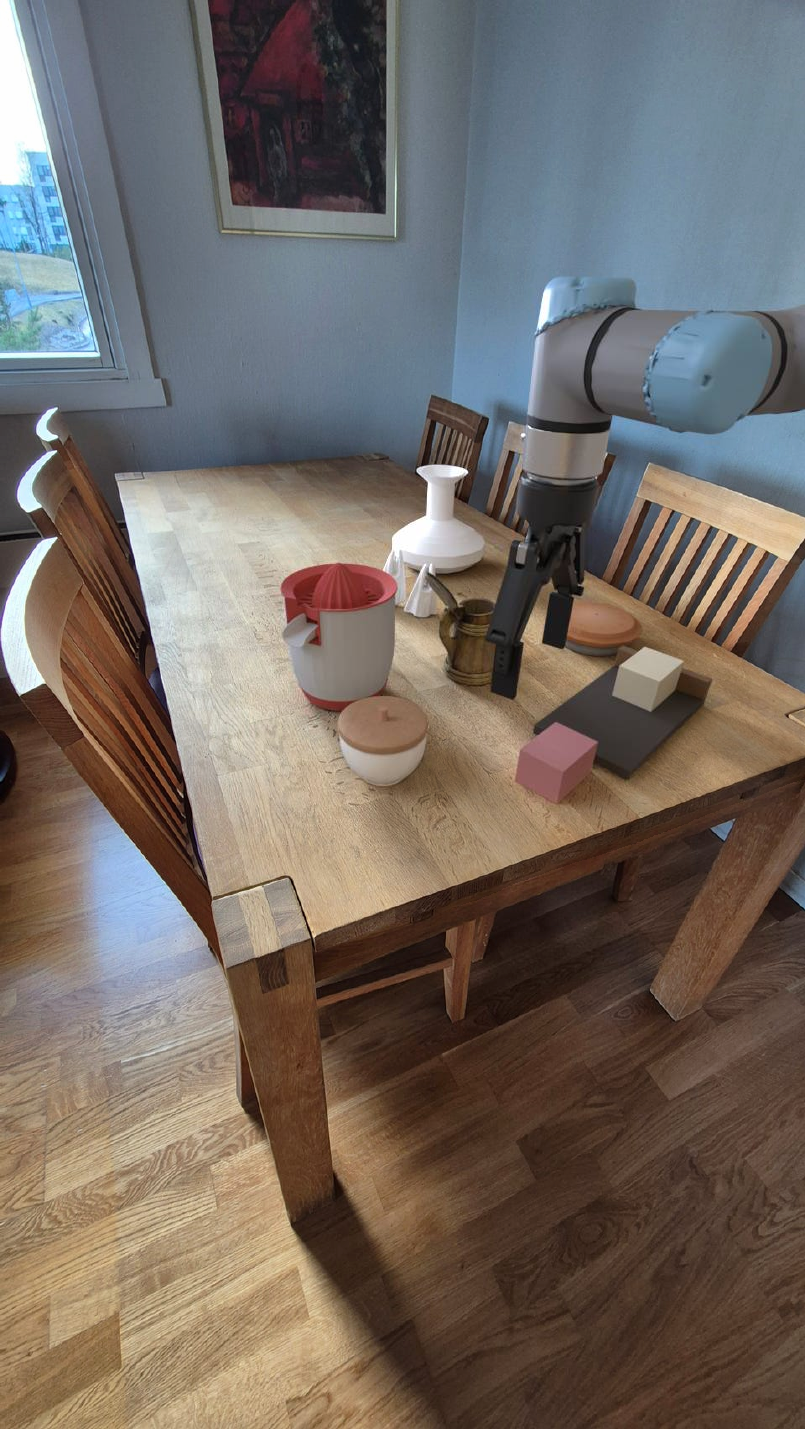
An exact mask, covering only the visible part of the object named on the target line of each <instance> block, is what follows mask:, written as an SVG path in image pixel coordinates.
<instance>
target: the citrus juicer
mask: <svg viewBox="0 0 805 1429" xmlns="http://www.w3.org/2000/svg"><path fill="white" fill-rule="evenodd" d="M279 589H280V594H281V595H282V597H283V598H282V599H283V608H284V620H285V627H284V628H283V630H282V634H281V637H282V640H283V642H284V643H285V644H287V649H288V653H289V654H288V655H289V658H290V659H289V660H290V663H291V666H292V669H293V673H294V676H295V677H296V680H297V684H298V686H299V688H300V689H301V691H302V693H303V694H304V696H305V698H306V700H308V701H309V702H310V703H311V704H312V705H314V706H316V707H319V708H321V709H324V710H329V711H338V712H342V711H343V710H344V709H345V708H346V707H347V706H349V705H350V704H352V703H354V702H356V701H358V700H361V699H364V698H368V697H374V696H382V694H383V692H384V690H385V688H386V686H387V684H388V681H389V675H390V673H391V669H392V665H393V661H394V656H395V646H396V645H395V643H396V641H395V640H396V605H395V594H396V592H397V589H398V588H397V583H396V581H395V579H394V578H393V577H392V576H391V575H390V574H388V573H386V572H384V571H383V569H382V570H381V569H379V568H377V567H373V566H369V565H363V564H358V563H342V562H335V563H325V564H317V565H313V566H308V567H305V568H302V569H300V570H297V571H295V572H293V573H291V574H290V575H288V576H287V577H285V578H284V579H283V581H282V582H281V584H280V588H279Z"/></svg>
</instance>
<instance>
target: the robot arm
mask: <svg viewBox="0 0 805 1429" xmlns="http://www.w3.org/2000/svg"><path fill="white" fill-rule="evenodd" d="M542 293H543V294H542V298H541V304H540V309H539V316H538V321H537V326H536V332H534V342H535V343H534V350H533V351H534V352H533V360H532V368H531V370H532V371H531V378H530V386H529V396H528V404H527V413H526V414H527V415H526V424H525V431H522V433H521V435H520V440H521V441H522V442H523V448H522V458H521V464H520V466H521V468H522V470H523V471H524V473H522V474H521V476H519V478H518V486H517V495H516V503H515V512H516V513H517V515H518V516H519V517H520V518H521V519H524V520H525V521H526V522H527V523H528V530H527V532H526V535H525V538H524V539H523V540H519V539H513V540H512V541H511V544H510V548H509V553H508V559H507V565H506V568H505V572H504V575H503V578H502V582H501V584H500V587H499V588H500V589H499V592H498V594H497V597H496V601H495V607H494V611H493V614H492V617H491V621H490V624H489V627H488V631H487V634H486V638H485V639H486V641H487V642H490V643H493V644H496V646H495V655H494V663H493V672H492V680H491V683H490V690H489V692H490V694H495V695H497V696H500V697H503V698H506V699H509V700H511V701H514V700H515V699H516V698H517V693H518V686H519V679H520V673H521V666H522V660H523V652H524V646H525V642H523V641H521V640H522V638H523V635H524V633H525V630H526V628H527V625H528V623H529V620H530V618H531V616H532V613H533V610H534V608H535V605H536V602H537V601H538V598H539V596H540V593H541V591H542V588H543V587H544V586H546V585H548V584H549V583H550V581H551V582H552V586H553V589H554V591H551V592H550V593H549V596H548V602H547V608H546V615H545V620H544V626H543V633H542V637H541V638H542V639H541V644H542V645H546V646H549V647H552V648H556V649H560V650H564V649H565V648H566V647H565V644H566V639H567V633H568V628H569V623H570V617H571V612H572V607H573V602H575V597H574V596H577V597H582V596H583V594H584V591H585V586H583V583H584V582H585V566H586V565H585V562H586V561H585V560H586V559H585V558H586V557H585V556H586V555H585V554H586V553H585V548H586V546H585V545H586V544H585V542H586V534H585V533H586V526H587V523H588V522H590V521H591V520H592V519H593V517H594V516H595V509H596V504H597V499H598V494H599V489H600V482H598V479H597V477H600V475H601V474H602V473H603V471H604V465H605V460H606V454H607V449H608V443H609V437H610V434H611V433H610V432H611V427H612V421H613V416H615V417H620V418H624V419H628V420H632V421H637V422H641V423H644V424H649V425H654V426H658V427H661V428H664V429H668V430H669V431H670V432H674V433H678V434H683V433H687V432H689V433H695V434H702V435H717V434H718V435H719V434H722V433H725V432H727V431H729V430H730V429H732V428H733V427H734V426H735V424H736V423H737V422H739V421H741V420H743V419H745V418H746V417H750V416H762V415H782V414H791V413H797V412H801V411H805V304H801V305H798V306H795V307H791V308H786V309H780V310H713V309H711V310H680V309H679V310H678V309H677V310H676V309H675V310H673V309H672V310H671V309H642V308H636V307H637V305H636V295H637V285H636V282H635V280H633V279H632V278H630V277H612V276H610V277H609V276H557V277H554V278H553V279H551V280H550V281H549V282H548V283H547V284H546V286H545V287H544V290H543V292H542ZM555 591H556V592H555Z"/></svg>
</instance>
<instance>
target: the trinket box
mask: <svg viewBox="0 0 805 1429" xmlns="http://www.w3.org/2000/svg"><path fill="white" fill-rule="evenodd" d="M340 712H341V713H340V714H339V715H338V718H337V731H338V733H339V735H338V736H339V737H338V738H339V744H340V749H341V753H342V756H343V759H344V762H345V763H346V765H347V767H348V768H349V769H350V770H351V772H353V773H354V774H355V775H356V776H357V777H359V778H361V780H363V781H364V782H365V783H367V784H369V785H372V786H376V787H391V786H393V785H396V784H399V783H400V782H402V781H403V780H405V779H406V778H407V777H408V776H410V775H411V774H412V773H413V772H414V771H415V770H416V769H417V767H418V766H419V764H420V763H421V761H422V759H423V756H424V754H425V750H426V749H425V748H426V745H427V744H426V743H427V738H428V737H427V736H428V735H427V734H428V730H429V719H428V716H427V714H426V712H425V711H424V710H423V709H422V708H421V707H420V706H419V705H417V704H416V703H414V702H412V701H411V700H408V699H405V698H402V697H397V696H390V695H380V696H374V697H368V698H364V699H361V700H358V701H356V702H354V703H352V704H350V705H349V706H347V707H346V708H345V709H344V710H343V711H340Z"/></svg>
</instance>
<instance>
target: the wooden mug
mask: <svg viewBox="0 0 805 1429" xmlns="http://www.w3.org/2000/svg"><path fill="white" fill-rule="evenodd" d="M426 581H427V582H428V584H429V585H430V587H431V588H432V589H433V590H434V592H435V593H436V594H437V598H439V599H440V601H441V602H442V603H443V604H444V606H445V607H444V609H443V611H442V612H441V615H440V619H439V622H438V636H439V639H440V641H441V644H442V645H443V647H444V648H445V651H446V653H447V654H446V656H445V657H444V660H443V664H442V671H443V673H444V674H446V676H447V677H448V678H449V679H450V680H452V681H454V682H456V683H458V684H462V685H466V686H482V685H488V684H491V680H492V672H493V663H494V655H495V646H496V644H493V643H490V642H487V641H486V639H485V638H486V634H487V631H488V627H489V624H490V621H491V617H492V614H493V611H494V607H495V604H496V602H494V601H492V600H491V599H487V598H484V597H483V598H482V597H481V598H480V597H471V598H467V599H464V600H461V601H459V603H458V601H457V599H456V598H455V596H454V595H453V594H452V592H451V591H450V590H449V588H448V587H446V585H445V584H444V583H443V582H442V581H441V580H440V579H439V578H438V577H437V576H436V577H435V576H434V575H433V574H431V573H429V572H426V575H425V582H426ZM451 628H452V631H451V634H450V630H451Z"/></svg>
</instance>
